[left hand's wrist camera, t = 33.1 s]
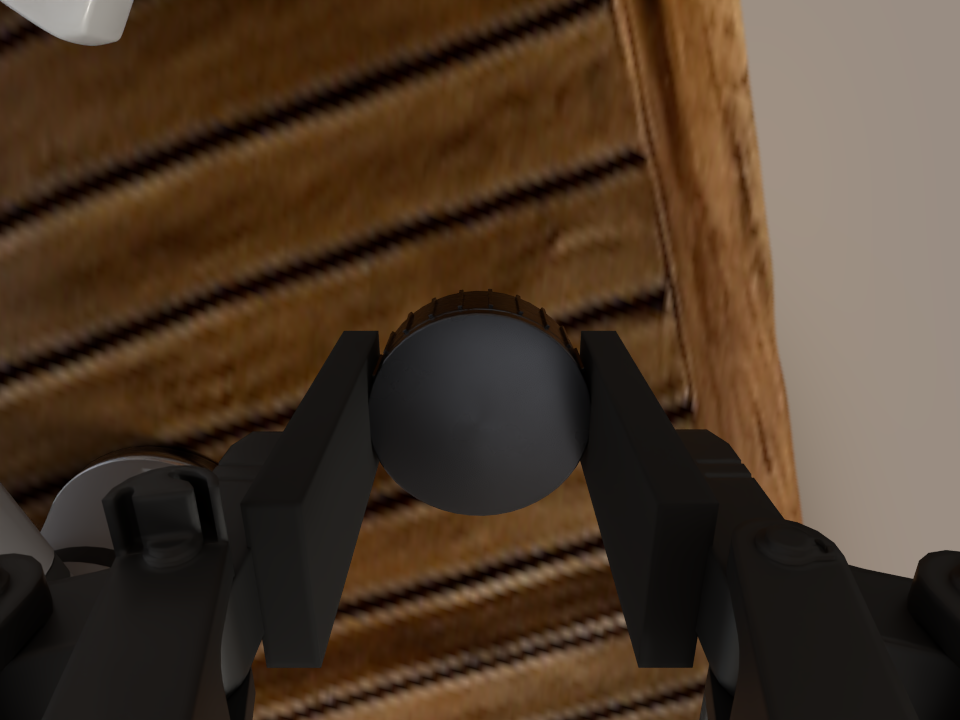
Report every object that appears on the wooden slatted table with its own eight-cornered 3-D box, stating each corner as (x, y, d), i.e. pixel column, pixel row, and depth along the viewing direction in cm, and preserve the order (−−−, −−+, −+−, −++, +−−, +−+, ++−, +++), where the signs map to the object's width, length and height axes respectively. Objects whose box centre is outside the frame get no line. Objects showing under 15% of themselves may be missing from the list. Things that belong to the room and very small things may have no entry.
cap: (484, 510, 16) (485, 554, 14) (334, 392, 14) (317, 427, 13) (625, 383, 14) (643, 416, 13) (474, 242, 13) (473, 260, 12)
